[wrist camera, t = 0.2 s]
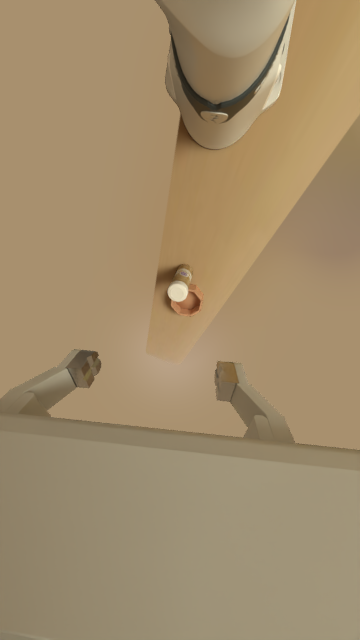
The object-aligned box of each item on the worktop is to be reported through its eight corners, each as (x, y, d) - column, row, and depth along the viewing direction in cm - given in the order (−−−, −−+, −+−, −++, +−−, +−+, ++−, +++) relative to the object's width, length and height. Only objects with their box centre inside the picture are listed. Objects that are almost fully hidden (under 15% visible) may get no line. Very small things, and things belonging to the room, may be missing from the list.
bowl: (174, 281, 49) (172, 286, 46) (205, 286, 49) (205, 292, 46) (172, 307, 55) (170, 313, 52) (199, 312, 54) (199, 318, 52)
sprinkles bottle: (193, 264, 46) (188, 285, 35) (192, 280, 48) (186, 303, 38) (177, 263, 46) (166, 282, 35) (176, 278, 49) (166, 301, 38)
